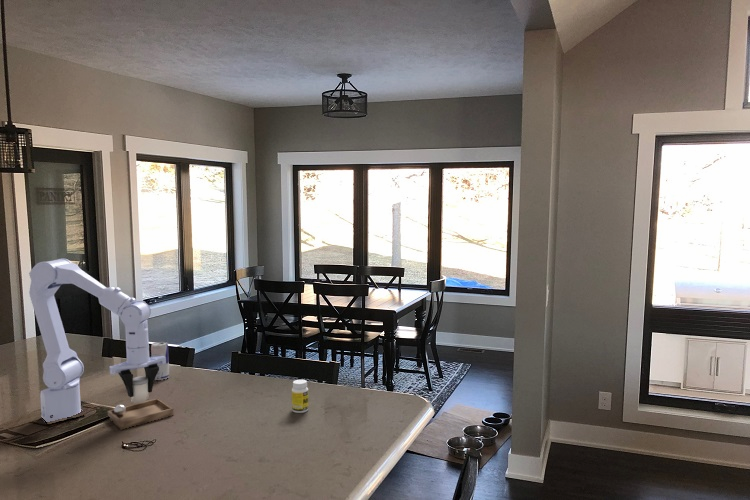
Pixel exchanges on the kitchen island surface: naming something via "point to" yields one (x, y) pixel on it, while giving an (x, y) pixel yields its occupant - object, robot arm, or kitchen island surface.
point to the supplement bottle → (300, 396)
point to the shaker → (140, 389)
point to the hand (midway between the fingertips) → (139, 393)
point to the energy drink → (161, 350)
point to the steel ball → (120, 410)
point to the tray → (141, 413)
